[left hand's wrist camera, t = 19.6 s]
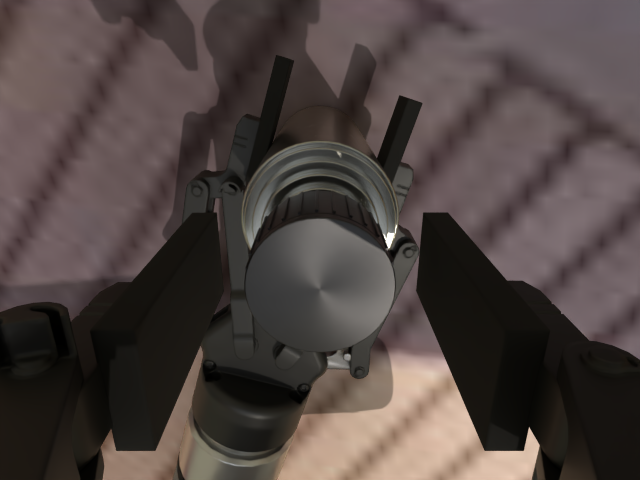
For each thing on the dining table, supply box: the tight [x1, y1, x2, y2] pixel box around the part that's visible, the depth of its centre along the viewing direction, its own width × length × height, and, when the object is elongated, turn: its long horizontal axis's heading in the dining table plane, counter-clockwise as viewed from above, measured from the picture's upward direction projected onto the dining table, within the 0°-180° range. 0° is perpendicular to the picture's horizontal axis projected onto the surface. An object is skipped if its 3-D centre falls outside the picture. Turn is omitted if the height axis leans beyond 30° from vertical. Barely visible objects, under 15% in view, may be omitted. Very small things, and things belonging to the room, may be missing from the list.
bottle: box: [241, 106, 399, 251], centre depth 22 cm, size 6×6×20 cm
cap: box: [244, 189, 396, 352], centre depth 13 cm, size 4×4×3 cm
